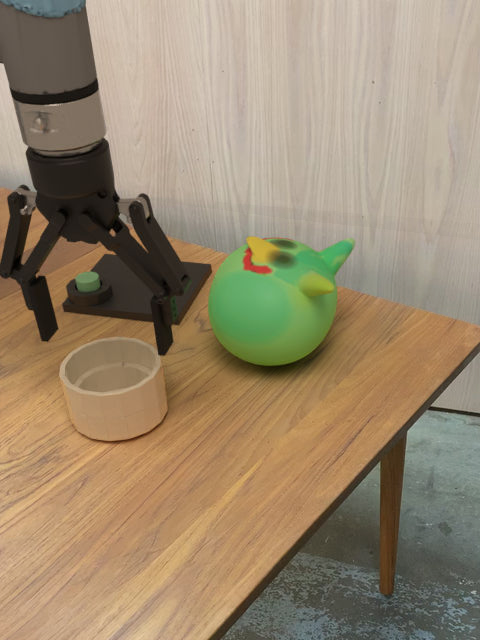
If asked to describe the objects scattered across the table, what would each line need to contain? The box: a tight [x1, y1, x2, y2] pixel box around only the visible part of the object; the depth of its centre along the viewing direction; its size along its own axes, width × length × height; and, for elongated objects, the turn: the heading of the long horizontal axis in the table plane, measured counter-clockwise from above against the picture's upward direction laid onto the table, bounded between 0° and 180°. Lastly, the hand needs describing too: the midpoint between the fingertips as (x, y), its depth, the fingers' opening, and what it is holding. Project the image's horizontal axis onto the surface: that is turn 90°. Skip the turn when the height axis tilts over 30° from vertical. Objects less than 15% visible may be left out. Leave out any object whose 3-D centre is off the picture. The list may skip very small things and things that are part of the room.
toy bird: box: [207, 235, 356, 367], centre depth 96 cm, size 18×17×15 cm
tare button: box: [75, 271, 100, 292], centre depth 108 cm, size 3×3×2 cm
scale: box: [61, 253, 213, 326], centre depth 111 cm, size 17×15×3 cm
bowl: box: [59, 336, 169, 442], centre depth 89 cm, size 11×11×7 cm
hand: (107, 342), depth 85 cm, fingers open, 13 cm apart
